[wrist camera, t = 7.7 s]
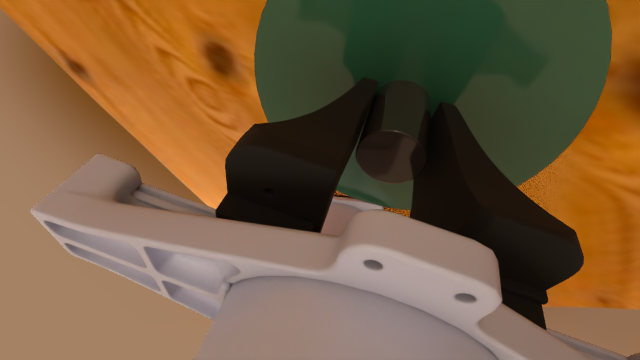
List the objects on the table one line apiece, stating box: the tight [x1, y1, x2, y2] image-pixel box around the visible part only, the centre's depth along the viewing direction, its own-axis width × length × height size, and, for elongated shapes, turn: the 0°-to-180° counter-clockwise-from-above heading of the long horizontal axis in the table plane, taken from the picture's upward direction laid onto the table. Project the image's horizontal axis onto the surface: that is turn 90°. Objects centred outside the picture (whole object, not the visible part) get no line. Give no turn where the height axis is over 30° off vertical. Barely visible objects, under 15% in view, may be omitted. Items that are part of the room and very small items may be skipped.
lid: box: [254, 0, 612, 210], centre depth 12 cm, size 13×13×4 cm
